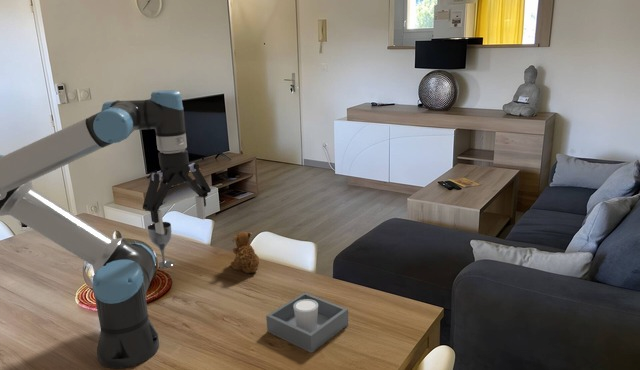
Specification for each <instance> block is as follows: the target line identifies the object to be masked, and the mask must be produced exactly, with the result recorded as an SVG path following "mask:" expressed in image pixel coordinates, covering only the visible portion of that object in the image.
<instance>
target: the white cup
mask: <svg viewBox="0 0 640 370" xmlns="http://www.w3.org/2000/svg"><path fill="white" fill-rule="evenodd" d="M293 308H294V314H295V321H296V326H297V327H299V328H301V329H303V330H305V331H308V332H310V333H311V332H312V331H314V330H315V329H317V317H318V303H317V302H316V301H314V300H311V299H303V300H299V301H297V302H295V304H294V306H293Z"/></svg>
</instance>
